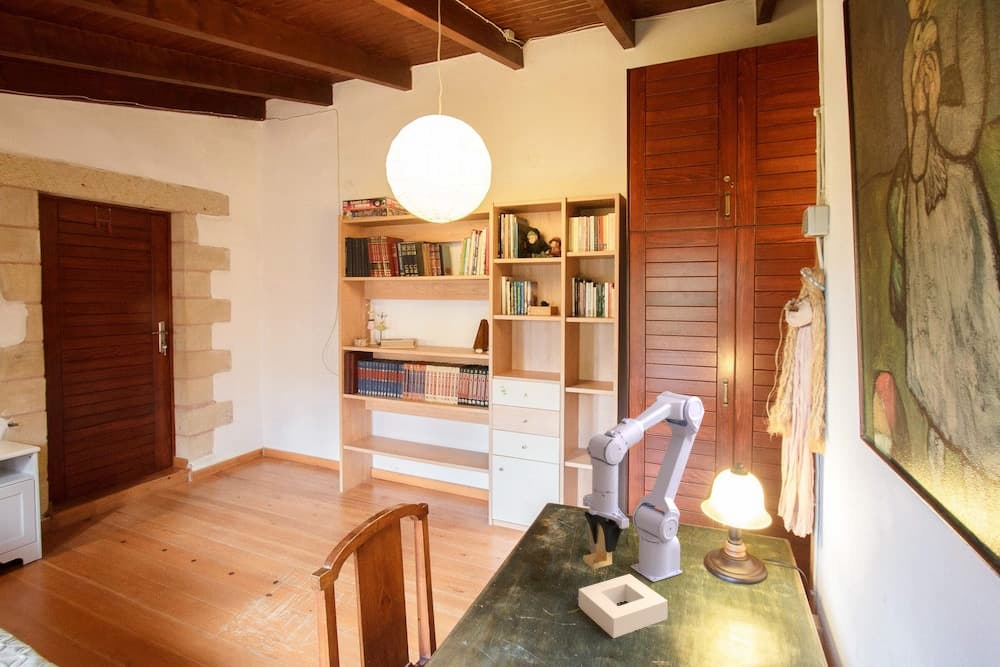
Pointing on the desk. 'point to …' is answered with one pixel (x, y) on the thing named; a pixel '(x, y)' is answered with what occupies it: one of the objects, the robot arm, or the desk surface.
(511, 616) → the desk surface
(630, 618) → the well block
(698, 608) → the desk surface
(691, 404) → the robot arm
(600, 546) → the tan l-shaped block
